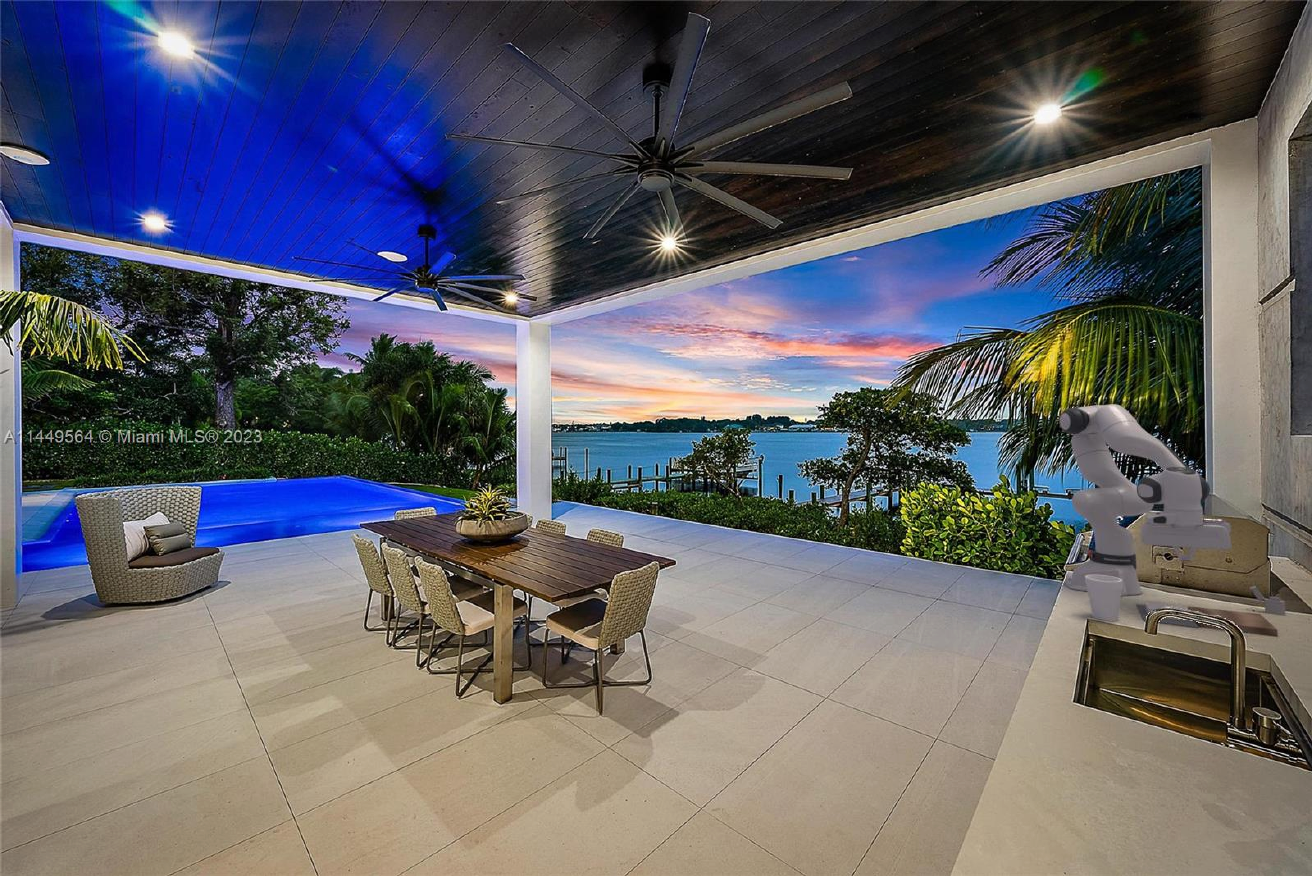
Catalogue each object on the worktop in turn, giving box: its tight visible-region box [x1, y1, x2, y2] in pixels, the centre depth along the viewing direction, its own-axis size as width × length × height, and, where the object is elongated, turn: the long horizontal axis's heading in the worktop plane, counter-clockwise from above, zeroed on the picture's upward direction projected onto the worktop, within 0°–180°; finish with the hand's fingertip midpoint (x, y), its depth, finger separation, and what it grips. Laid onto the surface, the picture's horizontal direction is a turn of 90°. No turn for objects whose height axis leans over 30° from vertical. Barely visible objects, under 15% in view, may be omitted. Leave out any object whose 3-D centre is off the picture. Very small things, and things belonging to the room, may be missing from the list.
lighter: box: [1249, 585, 1286, 617], centre depth 168 cm, size 7×2×8 cm, turn 38°
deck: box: [1187, 605, 1279, 637], centre depth 161 cm, size 16×15×2 cm
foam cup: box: [1085, 575, 1123, 622], centre depth 171 cm, size 10×9×13 cm
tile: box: [1144, 602, 1190, 621], centre depth 169 cm, size 10×7×2 cm
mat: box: [1135, 603, 1200, 629], centre depth 169 cm, size 12×18×1 cm
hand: (1185, 560), depth 166 cm, fingers closed
